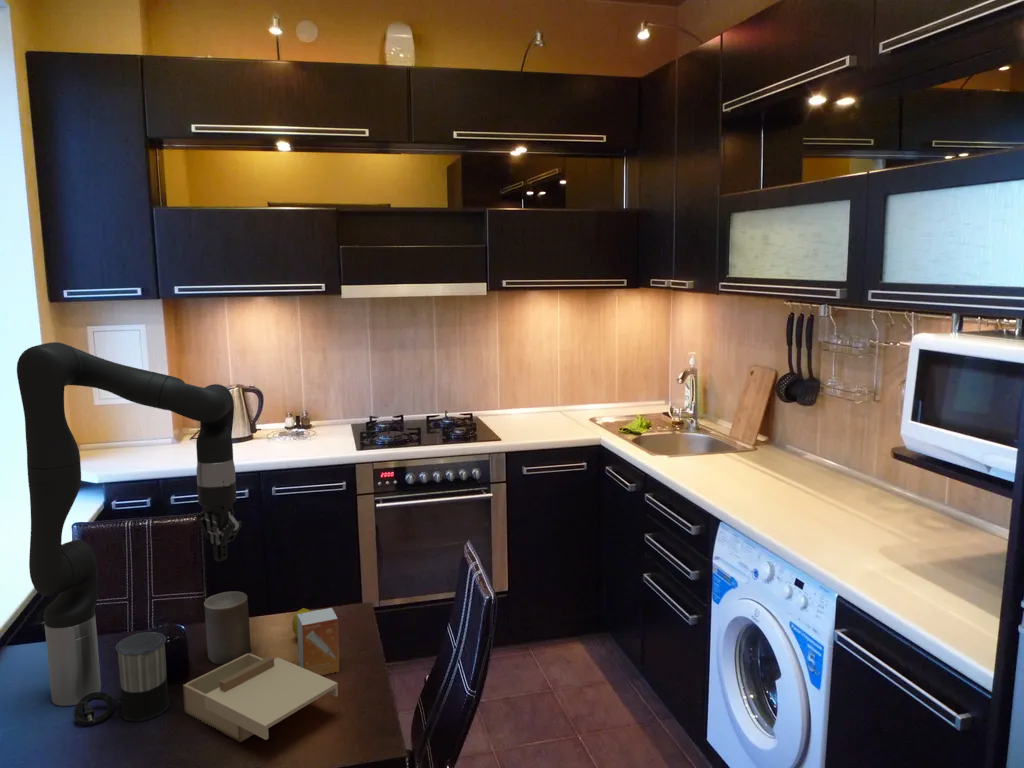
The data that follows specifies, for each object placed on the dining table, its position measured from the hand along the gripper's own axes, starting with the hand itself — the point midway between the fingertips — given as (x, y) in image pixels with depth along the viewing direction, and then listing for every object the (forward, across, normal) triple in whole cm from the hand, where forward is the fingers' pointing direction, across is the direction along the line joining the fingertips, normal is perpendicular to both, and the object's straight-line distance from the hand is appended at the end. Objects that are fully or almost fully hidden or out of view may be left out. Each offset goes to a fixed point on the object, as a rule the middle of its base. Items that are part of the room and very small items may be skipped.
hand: (220, 559), depth 160 cm
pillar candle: (+29, -12, +9) cm, 33 cm away
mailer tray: (+29, +10, -3) cm, 31 cm away
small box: (+29, +11, +16) cm, 35 cm away
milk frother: (+29, -9, -18) cm, 36 cm away
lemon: (+29, -3, +24) cm, 38 cm away
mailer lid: (+25, +19, -3) cm, 31 cm away
